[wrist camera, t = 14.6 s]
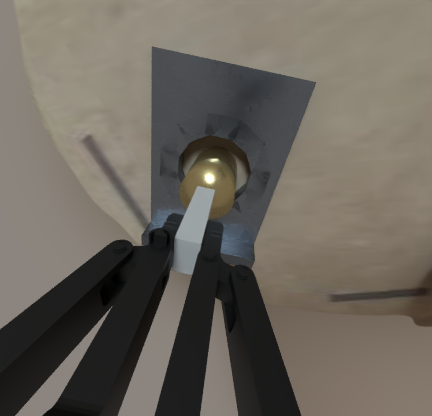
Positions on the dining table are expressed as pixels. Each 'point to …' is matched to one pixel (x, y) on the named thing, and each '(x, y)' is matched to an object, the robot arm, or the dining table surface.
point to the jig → (222, 136)
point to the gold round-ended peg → (212, 179)
